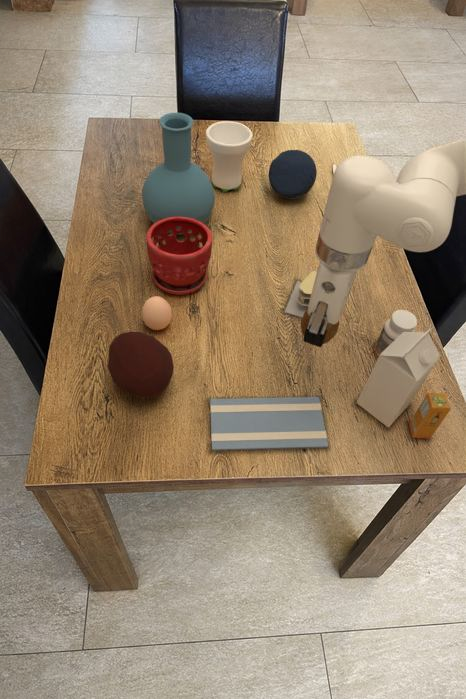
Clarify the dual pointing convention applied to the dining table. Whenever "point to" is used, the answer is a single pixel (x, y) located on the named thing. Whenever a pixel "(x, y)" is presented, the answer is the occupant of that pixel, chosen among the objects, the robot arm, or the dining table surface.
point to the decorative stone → (292, 174)
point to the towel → (267, 423)
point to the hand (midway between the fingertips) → (319, 327)
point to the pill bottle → (395, 329)
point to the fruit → (330, 327)
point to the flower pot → (179, 254)
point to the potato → (140, 364)
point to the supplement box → (429, 415)
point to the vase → (177, 177)
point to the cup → (228, 152)
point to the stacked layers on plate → (301, 296)
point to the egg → (156, 313)
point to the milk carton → (398, 376)
